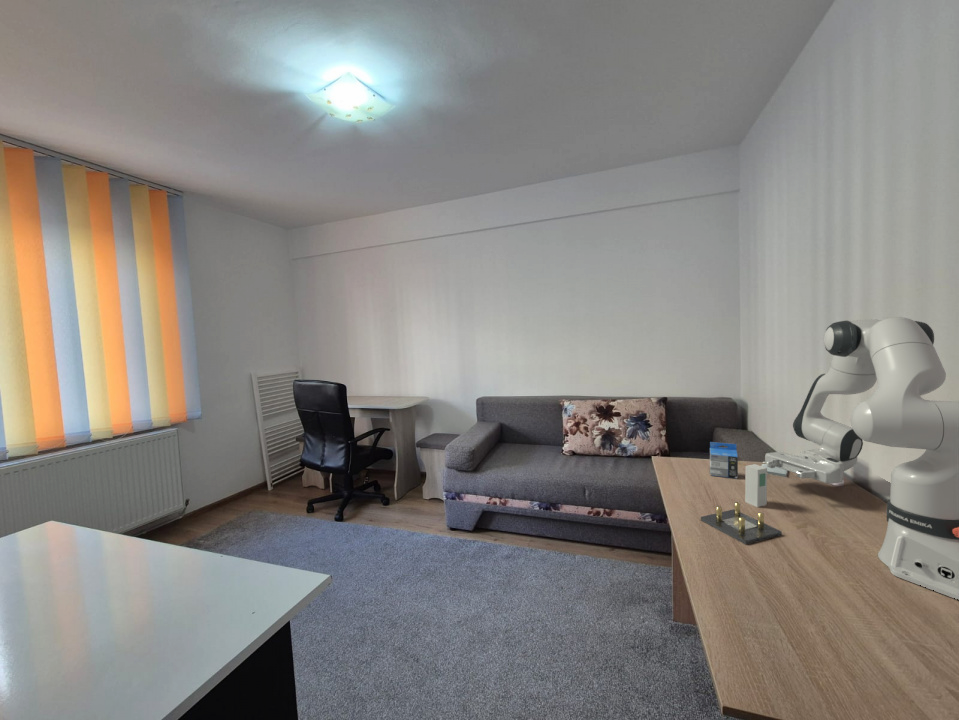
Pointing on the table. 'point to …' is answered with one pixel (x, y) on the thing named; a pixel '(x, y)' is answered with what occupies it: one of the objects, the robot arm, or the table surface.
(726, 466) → the label tape box
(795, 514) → the table surface
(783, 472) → the hard drive
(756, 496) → the block
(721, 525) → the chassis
